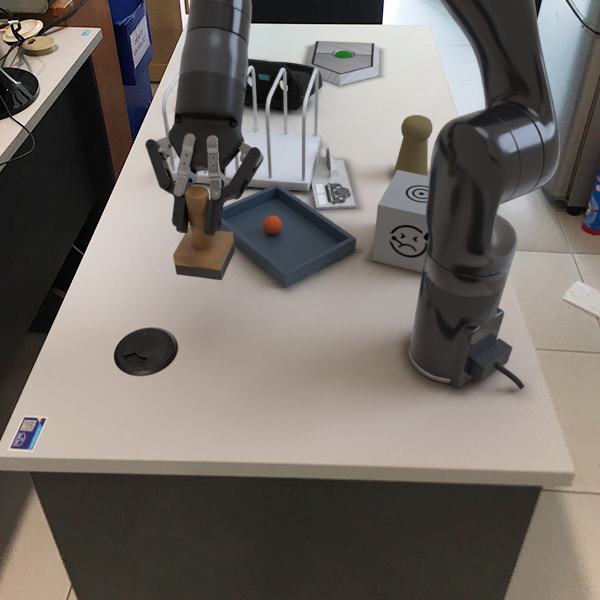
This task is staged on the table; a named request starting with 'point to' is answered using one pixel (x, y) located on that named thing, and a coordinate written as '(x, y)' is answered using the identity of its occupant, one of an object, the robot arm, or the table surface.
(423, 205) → the icon cube
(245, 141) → the file sorter
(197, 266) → the wooden stamp
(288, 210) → the tray
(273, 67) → the virtual reality headset
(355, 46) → the security device
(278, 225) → the crumb ball
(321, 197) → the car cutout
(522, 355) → the table surface
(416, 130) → the olive game pawn
